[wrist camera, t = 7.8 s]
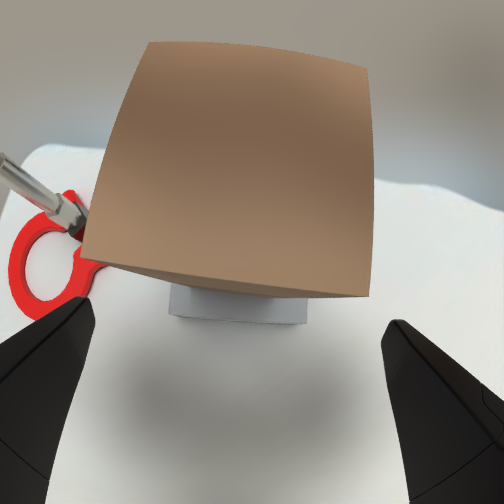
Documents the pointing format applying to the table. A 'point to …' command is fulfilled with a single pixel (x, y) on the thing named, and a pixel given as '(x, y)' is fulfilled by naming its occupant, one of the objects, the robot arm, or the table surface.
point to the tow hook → (53, 218)
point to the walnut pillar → (239, 173)
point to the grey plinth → (235, 306)
